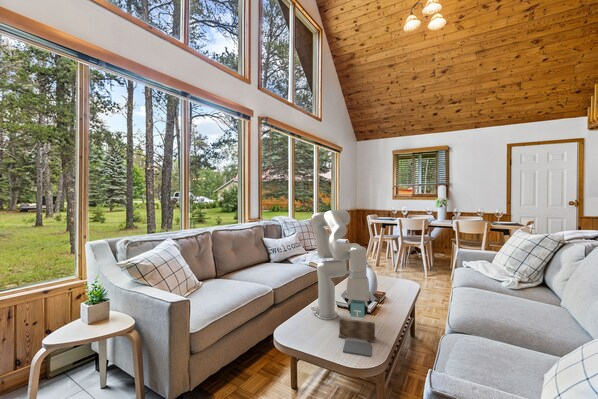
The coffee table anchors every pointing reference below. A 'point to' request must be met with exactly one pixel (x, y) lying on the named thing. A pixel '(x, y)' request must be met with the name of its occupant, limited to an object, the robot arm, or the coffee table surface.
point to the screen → (357, 329)
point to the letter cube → (357, 308)
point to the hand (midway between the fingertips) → (357, 312)
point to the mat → (357, 348)
